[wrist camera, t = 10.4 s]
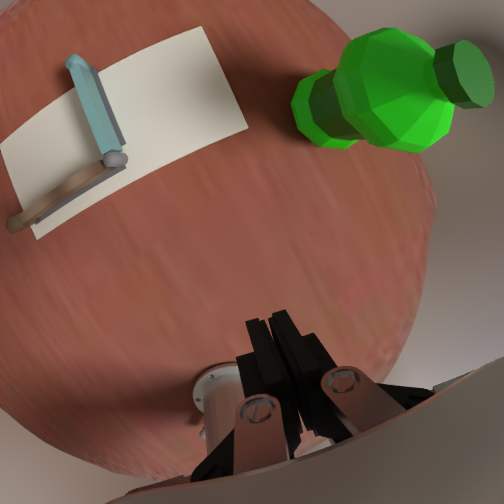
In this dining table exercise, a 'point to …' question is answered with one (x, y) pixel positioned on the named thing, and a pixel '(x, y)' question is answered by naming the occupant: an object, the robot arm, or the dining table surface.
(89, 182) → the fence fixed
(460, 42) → the plastic bottle
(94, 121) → the teal bar
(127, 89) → the card
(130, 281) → the dining table surface
